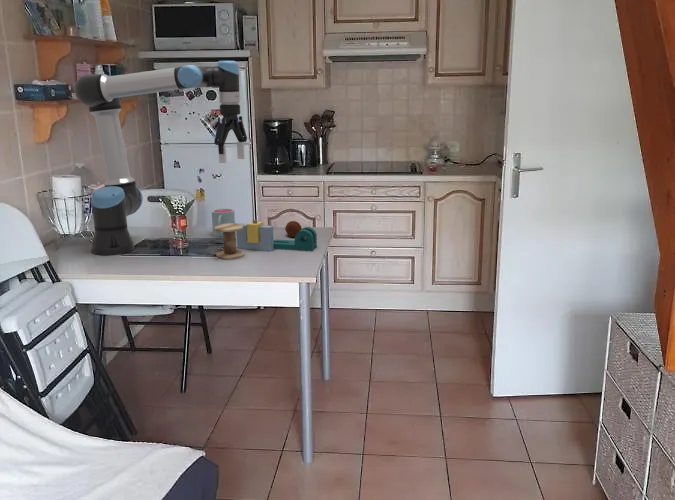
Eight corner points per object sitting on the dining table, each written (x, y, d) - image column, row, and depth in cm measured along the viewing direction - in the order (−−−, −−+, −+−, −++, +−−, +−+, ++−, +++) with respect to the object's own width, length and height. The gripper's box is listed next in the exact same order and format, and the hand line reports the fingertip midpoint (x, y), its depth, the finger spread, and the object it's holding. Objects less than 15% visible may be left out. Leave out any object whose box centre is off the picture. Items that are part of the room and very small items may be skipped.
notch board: (237, 248, 240) (236, 225, 238) (241, 246, 243) (240, 223, 241) (270, 251, 235) (269, 227, 233) (273, 249, 238) (273, 226, 236)
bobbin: (211, 257, 227) (209, 228, 224) (225, 251, 236) (223, 222, 233) (235, 260, 223) (234, 230, 221) (249, 253, 233) (247, 224, 230)
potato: (283, 238, 255) (282, 222, 253) (287, 233, 264) (286, 218, 262) (300, 238, 254) (299, 223, 253) (303, 233, 263) (303, 218, 262)
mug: (215, 231, 267) (214, 208, 265) (237, 231, 267) (236, 208, 264) (208, 239, 254) (206, 215, 252) (230, 239, 254) (229, 215, 251)
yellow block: (247, 242, 237) (246, 221, 234) (254, 239, 241) (253, 218, 239) (257, 243, 235) (256, 222, 233) (263, 239, 240) (263, 219, 238)
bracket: (316, 247, 242) (316, 227, 240) (312, 251, 235) (311, 231, 233) (272, 244, 246) (271, 225, 244) (266, 249, 239) (265, 229, 237)
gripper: (220, 104, 222) (223, 165, 227) (254, 103, 244) (256, 157, 250) (202, 104, 225) (205, 164, 230) (237, 102, 247) (239, 156, 253)
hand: (232, 160), depth 240 cm, fingers open, 13 cm apart
